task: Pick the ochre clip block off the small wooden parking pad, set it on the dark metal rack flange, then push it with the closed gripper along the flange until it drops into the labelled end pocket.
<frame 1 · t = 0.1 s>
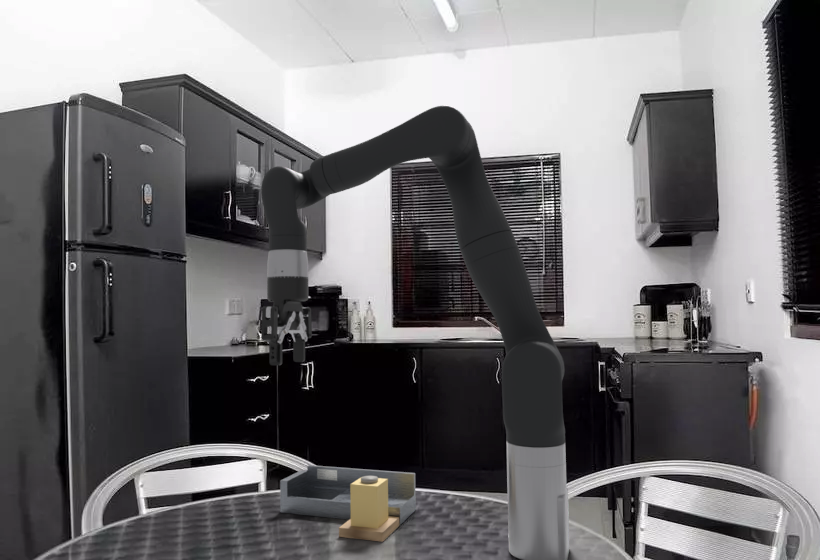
hand: (288, 363, 112), 29 cm above the table, fingers open, 8 cm apart
parking pad: (369, 531, 106), on the table
rack: (348, 511, 116), on the table
clip block: (369, 522, 106), point 1 cm above the table, touching parking pad
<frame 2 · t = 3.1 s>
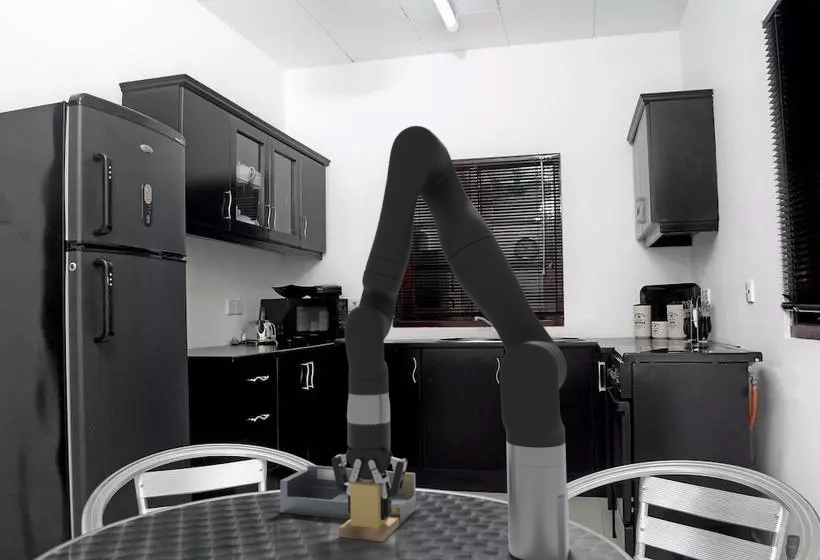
hand: (369, 516, 106), 2 cm above the table, fingers closed on clip block, 5 cm apart
clip block: (369, 522, 106), point 1 cm above the table, touching gripper, parking pad
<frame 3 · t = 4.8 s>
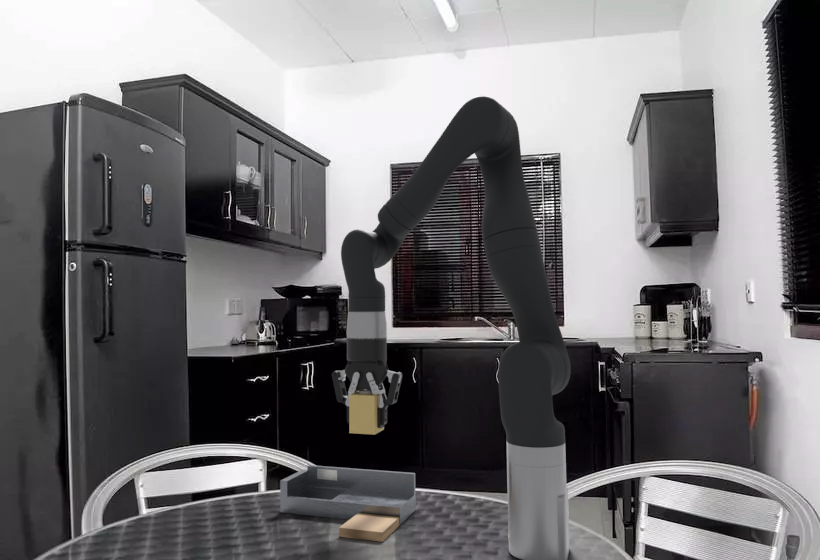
hand: (366, 426, 114), 17 cm above the table, fingers closed on clip block, 5 cm apart
clip block: (366, 431, 114), point 16 cm above the table, touching gripper
when the fingers open (5 cm above the table, at t = 6.7 s): clip block drops 1 cm, resting on rack.
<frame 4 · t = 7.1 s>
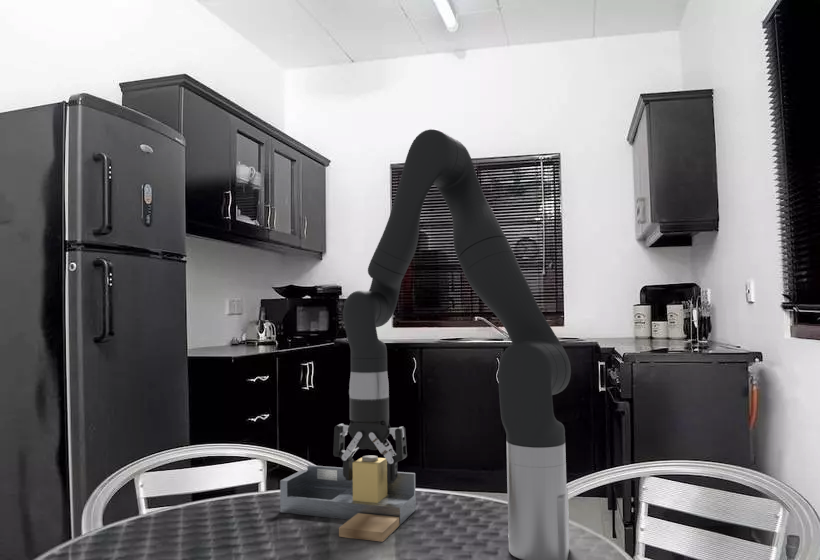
hand: (369, 481, 115), 6 cm above the table, fingers open, 8 cm apart
clip block: (370, 497, 115), point 3 cm above the table, touching rack
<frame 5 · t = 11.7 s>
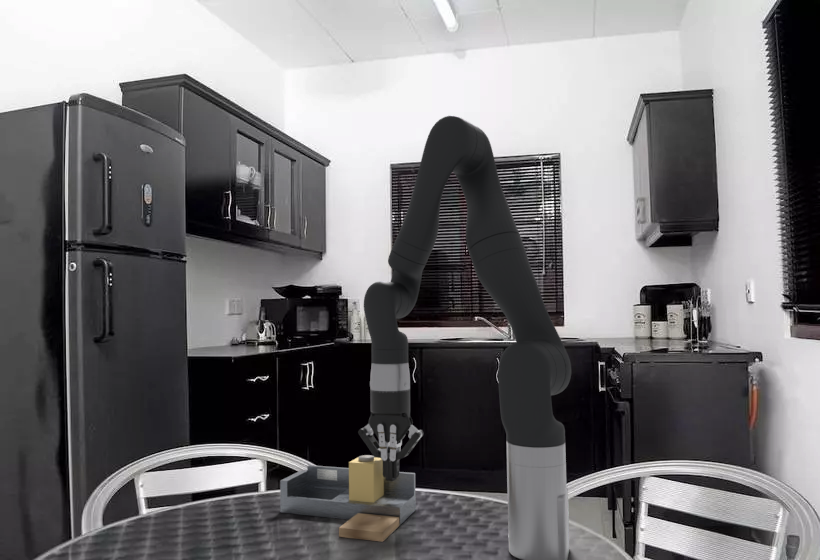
hand: (390, 479, 114), 7 cm above the table, fingers closed
clip block: (366, 497, 115), point 3 cm above the table, touching gripper, rack
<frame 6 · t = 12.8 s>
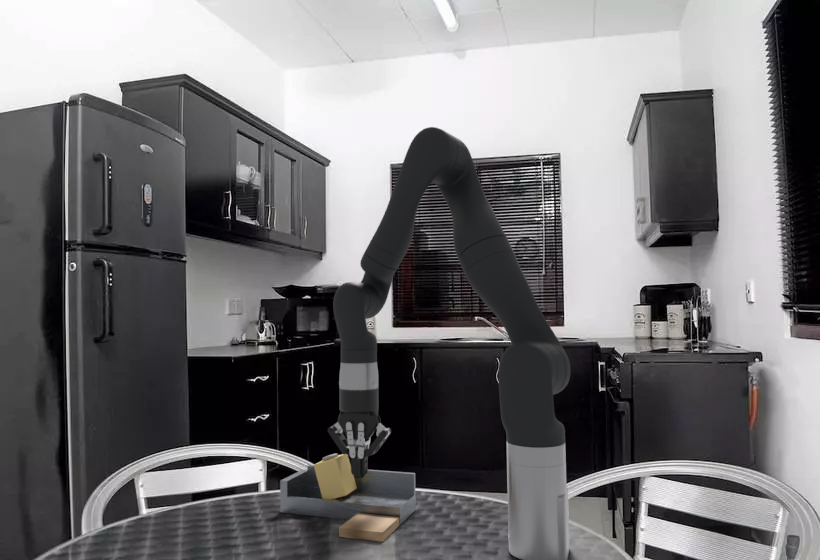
hand: (359, 477, 116), 7 cm above the table, fingers closed
clip block: (340, 494, 117), point 3 cm above the table, tilted 17°, touching rack
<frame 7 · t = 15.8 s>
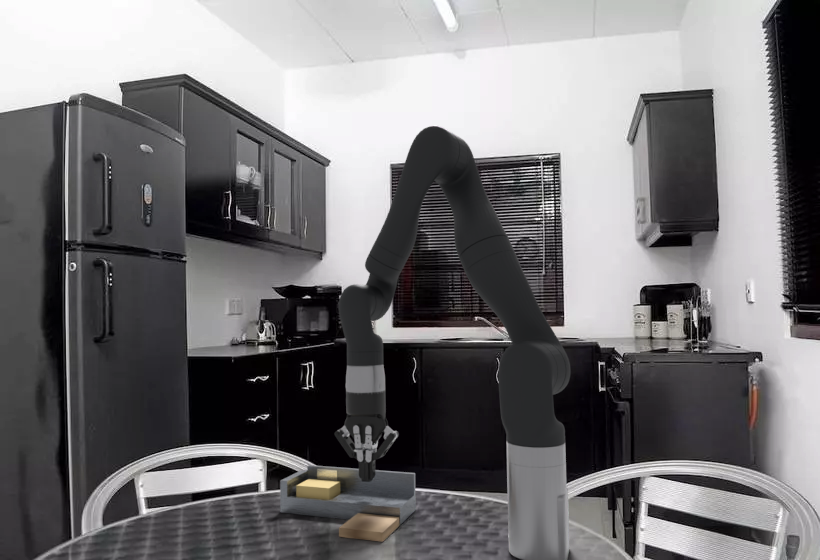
hand: (367, 480, 115), 6 cm above the table, fingers closed
clip block: (334, 497, 117), point 2 cm above the table, tilted 90°
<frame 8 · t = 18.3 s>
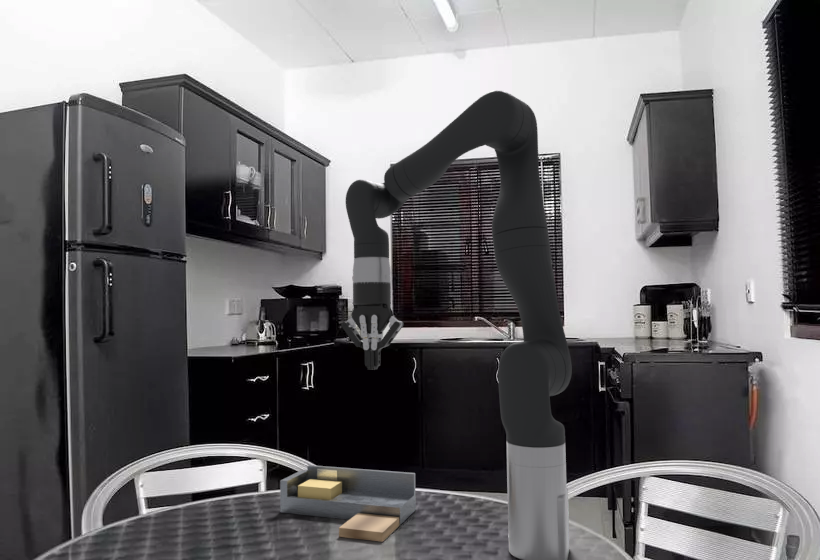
hand: (372, 369, 119), 27 cm above the table, fingers closed
nothing on the table moved.
at the end: clip block inside the target area (4.2 cm from its centre), point 2.3 cm above the table; clip block touching table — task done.
